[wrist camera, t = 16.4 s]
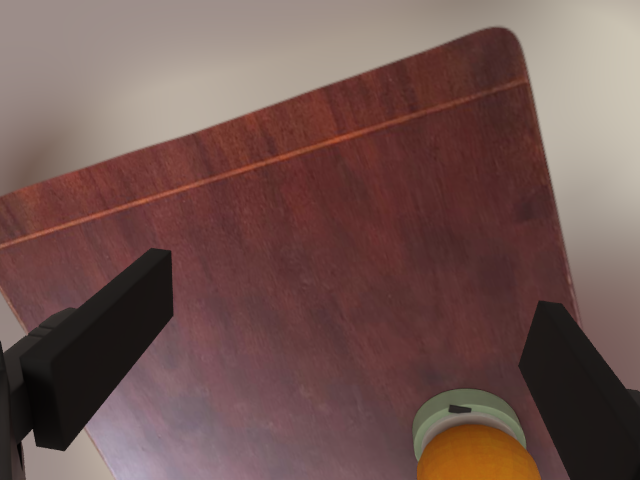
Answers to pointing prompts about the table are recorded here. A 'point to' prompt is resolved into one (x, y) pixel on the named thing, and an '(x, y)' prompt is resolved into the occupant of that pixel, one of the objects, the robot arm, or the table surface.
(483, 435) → the fruit
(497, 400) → the scale
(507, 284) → the table surface
